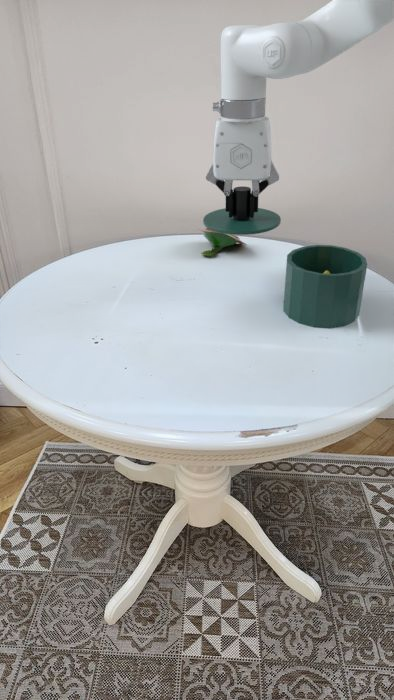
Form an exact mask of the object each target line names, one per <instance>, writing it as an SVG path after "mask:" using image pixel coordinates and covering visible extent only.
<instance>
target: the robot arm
mask: <svg viewBox="0 0 394 700" xmlns="http://www.w3.org/2000/svg"><path fill="white" fill-rule="evenodd" d="M393 21H394V0H330V1H329V2H328V3H326V4H325V5H324V6H322V7H321V8H319V9H318V10H316V11H315V12H314V13H312V14H310V15H309V16H307V17H306V18H304V19H301V20H296V21H294V20H293V21H286V22H277V23H272V24H267V25H261V24H237V25H229V26H225V27H224V29H222V31H221V35H220V98H221V99H220V100H219V101H217V102H212V112H217V113H218V114H220V117H218V118H217V119H216V121H215V127H214V137H213V152H212V153H213V155H212V157H213V158H212V164H211V166H210V168H209V170H208V172H207V173H206V176H205V180H206V181H207V182H209V183H211V184H213V185H215V186H216V187H217V189H219V190H220V191H221V192H222V193H223V195H224V196H225V208H226V212H229V218H232V217H233V181H251V188H252V189H251V196H250V217H251V218H254V212H258V208H259V196H260V194H261V193H262V192H263V191H265V190H266V189H267V187H269V186H271V185H272V184H274V183H276V182H278V181H279V180H280V174H279V172H278V171H277V169H276V166H275V165H274V162H273V161H272V129H271V123H270V118H269V117H268V116H266V102H267V101H266V100H267V99H266V98H267V78H268V79H272V80H285V79H289V78H293V77H295V76H300V75H305V74H307V73H311V72H312V71H314V70H316V69H318V68H319V67H322V66H323V65H325V64H326V63H328V62H330V61H332V60H334V59H335V58H336V57H338V56H340V55H342V54H343V53H345V52H347V51H348V50H350V49H351V48H353V47H355V46H356V45H358V44H360V43H361V42H362V41H364V40H365V39H367V38H368V37H370V36H372V35H374V34H375V33H377V32H379V31H380V30H381V29H382V28H384V27H385V26H387V25H388V24H390V23H392V22H393Z"/></svg>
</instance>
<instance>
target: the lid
mask: <svg viewBox="0 0 394 700" xmlns="http://www.w3.org/2000/svg"><path fill="white" fill-rule="evenodd" d="M251 188H252V187H249V186H236V187H234V188H232V190H233V217H232V218H229V212H226V207H225V208H220V209H216V210H213V211H210V212H208V213H207V214H205V215H204V216H203V218H202V219H203V220H202V222H203V226H204V227H205V228H208V229H210V230H212V231H215V232H219V233H224V234H233V235H236V236H248V235H256V234H257V235H258V234H262V233H263V234H264V233H268V232H269V231H270V232H271V231H273V230H275V229H277V228H278V227H279V226H280V225H281V221H282V218H281V216H280V215H279V214H278V213H276V212H275V211H272V210H270V209H267V208H265V209H264V208H261V207H258V212H254V218H251V217H250V196H251V192H252V189H251Z"/></svg>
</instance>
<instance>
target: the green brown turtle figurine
mask: <svg viewBox="0 0 394 700" xmlns="http://www.w3.org/2000/svg"><path fill="white" fill-rule="evenodd" d="M193 231H195V232H197V233H201V234H202V235H203V237H204V239H206V240H207V242H208V243H209V244H211V247H212V248H211V249H208V250H204V251H202V252H201V253H200V255H202V256H203V257H208V258H212V257H214V256H215V255H216V254H218V252H220V251H221V250H222V249H224V248H225V247H226V248H227V247H230V246H233V245H236V244H238V245H243V246H248V244H247V243H245V242H243V241H242V240H241V238H240V237H239V236H238V235H233V234H224V233H219V232H215V231H212V230H210V229H208V228H207V227H204V228H203V229H193Z"/></svg>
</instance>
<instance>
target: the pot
mask: <svg viewBox="0 0 394 700" xmlns="http://www.w3.org/2000/svg"><path fill="white" fill-rule="evenodd" d="M285 265H286V267H285V280H284V294H283V308H282V311H283V312H284V314H285V315H286V316H287V318H288V319H290V320H292V321H294V322H296V323H298V324H300V325H303V326H307V327H311V328H317V329H334V328H341V327H342V328H343V327H345V326H346V327H347V326H348V325H350V324H352V323H354V322H355V321H356V320H358V318H359V316H360V312H361V305H362V299H363V293H364V287H365V281H366V275H367V269H368V262H367V258H366V257H365V256H364V255H362V254H361V253H359V252H358V251H355V250H353V249H350V248H347V247H343V246H338V245H330V244H314V245H305V246H301V247H298V248H295V249H292V250H291V251H290V252H288V254H287V255H286V264H285ZM327 270H328V271H329V272H330V274H325V273H324V272H325V271H327Z"/></svg>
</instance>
